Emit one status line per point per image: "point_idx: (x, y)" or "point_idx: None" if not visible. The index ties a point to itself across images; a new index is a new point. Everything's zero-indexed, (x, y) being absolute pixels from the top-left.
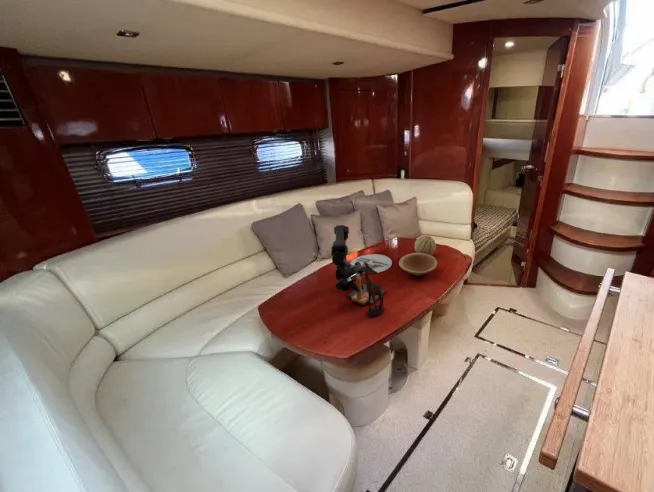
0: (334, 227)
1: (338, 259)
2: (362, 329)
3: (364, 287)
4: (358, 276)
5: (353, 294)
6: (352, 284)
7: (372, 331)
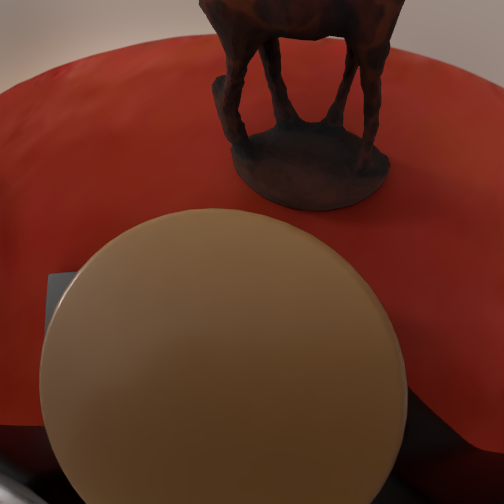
0: None
1: None
2: (480, 145)
3: None
4: (92, 436)
5: None
6: (455, 433)
7: (448, 98)
